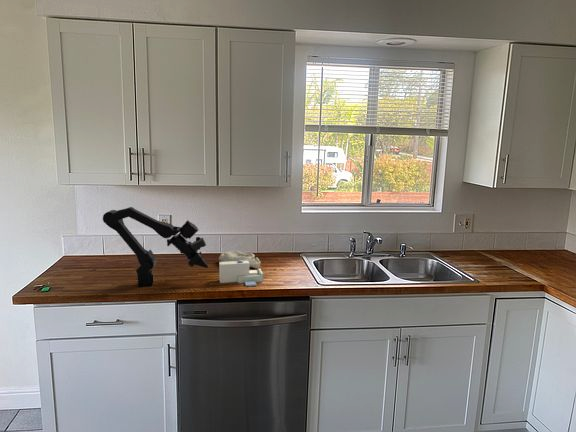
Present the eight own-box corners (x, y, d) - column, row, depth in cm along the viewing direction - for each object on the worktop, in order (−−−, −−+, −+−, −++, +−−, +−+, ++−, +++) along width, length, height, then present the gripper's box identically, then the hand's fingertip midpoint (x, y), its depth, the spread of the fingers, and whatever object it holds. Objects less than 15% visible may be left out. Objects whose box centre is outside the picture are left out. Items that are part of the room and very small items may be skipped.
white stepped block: (220, 282, 200) (219, 263, 198) (219, 279, 204) (219, 260, 202) (257, 280, 204) (257, 261, 202) (256, 277, 208) (256, 258, 207)
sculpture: (220, 270, 236) (213, 269, 221) (220, 251, 237) (214, 249, 222) (264, 268, 234) (260, 268, 219) (263, 249, 235) (259, 247, 221)
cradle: (239, 287, 195) (239, 278, 194) (234, 274, 213) (234, 266, 213) (265, 285, 197) (265, 277, 197) (258, 272, 216) (258, 265, 215)
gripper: (195, 237, 186) (221, 260, 191) (195, 228, 204) (218, 250, 209) (177, 255, 186) (203, 278, 190) (178, 245, 204) (202, 266, 208)
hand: (207, 267), depth 199 cm, fingers closed
